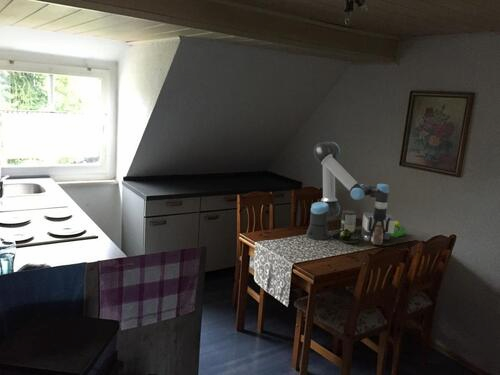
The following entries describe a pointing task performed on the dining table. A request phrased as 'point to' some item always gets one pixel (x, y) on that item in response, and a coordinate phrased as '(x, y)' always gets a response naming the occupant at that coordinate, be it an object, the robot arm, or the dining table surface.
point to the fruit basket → (398, 230)
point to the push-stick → (378, 235)
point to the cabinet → (366, 224)
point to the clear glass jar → (348, 220)
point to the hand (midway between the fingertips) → (376, 241)
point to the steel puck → (367, 237)
